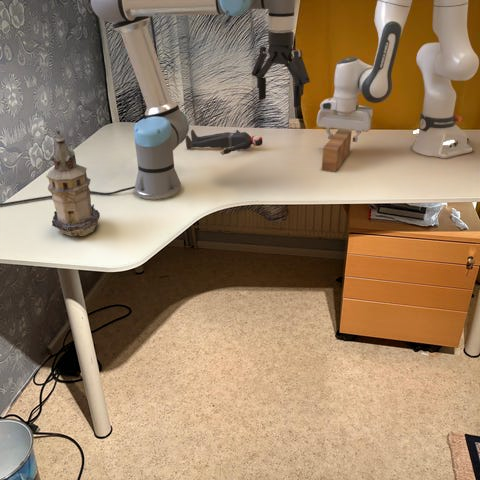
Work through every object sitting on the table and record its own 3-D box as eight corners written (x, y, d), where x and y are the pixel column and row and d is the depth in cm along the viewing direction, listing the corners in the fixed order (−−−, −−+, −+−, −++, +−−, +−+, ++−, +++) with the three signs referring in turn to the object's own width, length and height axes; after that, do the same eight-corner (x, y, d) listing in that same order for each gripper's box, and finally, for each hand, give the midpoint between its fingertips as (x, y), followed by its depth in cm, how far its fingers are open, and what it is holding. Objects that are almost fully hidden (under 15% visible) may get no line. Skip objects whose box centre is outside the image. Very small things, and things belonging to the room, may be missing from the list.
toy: (197, 123, 225) (267, 123, 219) (198, 137, 228) (268, 138, 222) (178, 143, 203) (256, 144, 197) (180, 159, 206) (257, 160, 200)
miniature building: (80, 214, 164) (63, 117, 149) (111, 225, 157) (96, 125, 142) (44, 231, 154) (22, 130, 140) (75, 244, 147) (55, 139, 133)
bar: (335, 172, 191) (337, 149, 186) (321, 170, 192) (323, 147, 188) (349, 151, 209) (351, 130, 204) (337, 149, 210) (338, 129, 206)
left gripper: (323, 33, 154) (319, 106, 164) (255, 26, 168) (255, 94, 178) (309, 36, 149) (305, 112, 159) (240, 28, 163) (241, 98, 173)
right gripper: (375, 104, 195) (371, 140, 202) (320, 99, 203) (319, 134, 209) (371, 108, 190) (368, 145, 197) (316, 103, 198) (314, 139, 204)
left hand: (279, 102), depth 169 cm, fingers open, 13 cm apart
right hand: (342, 140), depth 203 cm, fingers open, 8 cm apart
